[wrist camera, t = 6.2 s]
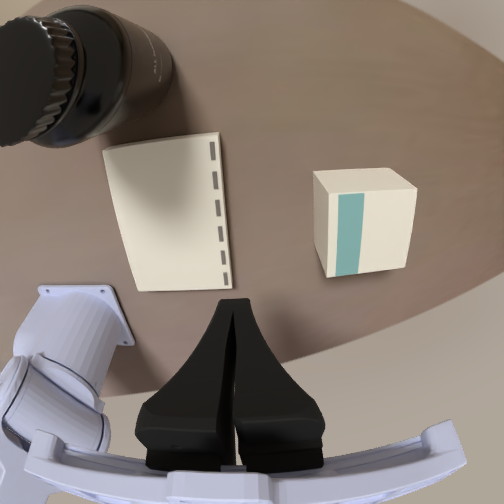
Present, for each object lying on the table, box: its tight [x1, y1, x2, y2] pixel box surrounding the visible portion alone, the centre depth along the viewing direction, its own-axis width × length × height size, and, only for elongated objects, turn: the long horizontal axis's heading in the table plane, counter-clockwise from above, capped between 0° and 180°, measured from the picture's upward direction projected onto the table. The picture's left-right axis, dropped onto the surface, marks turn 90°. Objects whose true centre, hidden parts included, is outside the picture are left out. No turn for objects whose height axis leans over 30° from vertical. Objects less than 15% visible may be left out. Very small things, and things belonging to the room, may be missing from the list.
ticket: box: [103, 132, 232, 291], centre depth 21 cm, size 8×12×1 cm, turn 2°
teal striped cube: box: [313, 168, 417, 277], centre depth 20 cm, size 6×6×5 cm
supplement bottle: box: [0, 5, 173, 148], centre depth 11 cm, size 7×7×12 cm
